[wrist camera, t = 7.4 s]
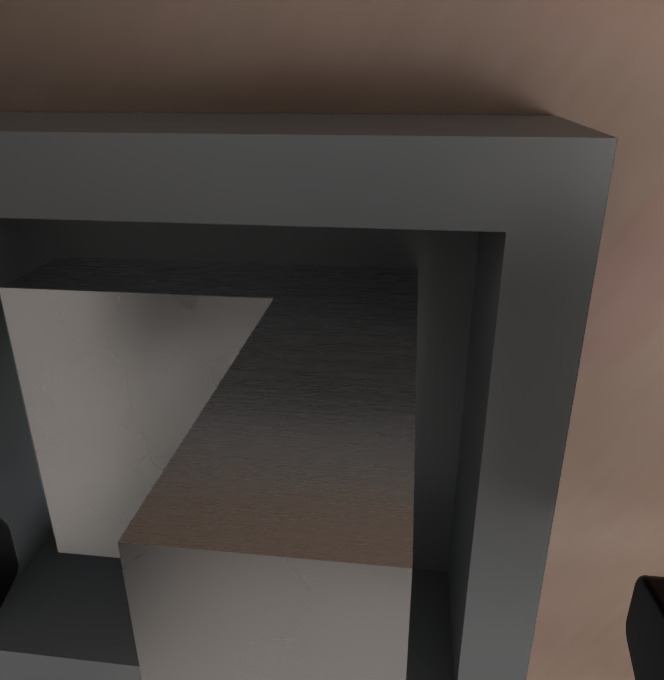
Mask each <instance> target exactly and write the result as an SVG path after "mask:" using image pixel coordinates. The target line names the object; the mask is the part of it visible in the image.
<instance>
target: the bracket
mask: <svg viewBox="0 0 664 680" xmlns="http://www.w3.org/2000/svg"><path fill="white" fill-rule="evenodd" d="M0 296H1V301H2V305H3V310H4V314H5V318H6V323H7V327H8V332H9V336H10V341H11V345H12V349H13V354H14V358H15V363H16V367H17V372H18V376H19V381H20V385H21V389H22V394H23V398H24V403H25V407H26V412H27V416H28V420H29V425H30V429H31V434H32V438H33V443H34V447H35V451H36V456H37V460H38V465H39V469H40V474H41V478H42V483H43V487H44V491H45V496H46V500H47V505H48V509H49V514H50V518H51V522H52V527H53V531H54V536H55V540H56V545H57V549H58V552H61V553H72V554H82V555H93V556H104V557H115V558H120V559H121V565H122V570H123V576H124V582H125V587H126V593H127V599H128V604H129V610H130V616H131V621H132V627H133V633H134V638H135V644H136V650H137V655H138V661H139V667H140V672H141V678H142V680H406V670H407V653H408V636H409V619H410V601H411V584H412V563H413V511H414V459H415V406H416V354H417V301H418V269H415V268H384V267H354V266H323V265H292V264H261V263H230V262H199V261H168V260H137V259H106V258H75V257H56V258H55V259H53V260H51V261H49V262H47V263H45V264H43V265H41V266H39V267H37V268H35V269H33V270H31V271H30V272H28V273H26V274H24V275H22V276H20V277H18V278H16V279H14V280H12V281H10V282H8V283H6V284H5V285H3V286H1V287H0Z"/></svg>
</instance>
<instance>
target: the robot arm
mask: <svg viewBox="0 0 664 680" xmlns="http://www.w3.org/2000/svg"><path fill="white" fill-rule="evenodd" d="M18 568H19V560H18V555H17V552H16V548H15V544H14V540H13V536H12V532H11V528H10V525H9V523H8V522H7V521H6V520H4V519H2V518H0V609H1V607H2V605H3V603H4V601H5V599H6V597H7V595H8V593H9V591H10V589H11V587H12V585H13V583H14V581H15V579H16V576H17V573H18ZM626 637H627V643H628V647H629V652H630V657H631V662H632V666H633V671H634V676H635V680H664V577H658V576H647V575H643V576H640V577H639V578H638V579H637V581H636V583H635V587H634V591H633V595H632V599H631V603H630V607H629V612H628V616H627V620H626Z"/></svg>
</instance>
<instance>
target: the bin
mask: <svg viewBox="0 0 664 680" xmlns="http://www.w3.org/2000/svg"><path fill="white" fill-rule="evenodd" d="M617 139H618V138H616V137H613V136H611V135H608V134H605V133H602V132H600V131H597V130H594V129H591V128H588V127H586V126H583V125H580V124H577V123H575V122H572V121H569V120H566V119H563V118H561V117H558V116H555V115H420V114H268V113H115V112H0V287H1V286H3V285H5V284H6V283H8V282H10V281H12V280H14V279H16V278H18V277H20V276H22V275H24V274H26V273H28V272H30V271H31V270H33V269H35V268H37V267H39V266H41V265H43V264H45V263H47V262H49V261H51V260H53V259H55V258H56V257H75V258H106V259H137V260H168V261H199V262H230V263H261V264H292V265H323V266H354V267H384V268H415V269H418V301H417V354H416V406H415V459H414V511H413V563H412V584H411V601H410V619H409V636H408V653H407V670H406V680H526V676H527V670H528V664H529V658H530V652H531V647H532V641H533V635H534V629H535V623H536V617H537V611H538V605H539V599H540V593H541V588H542V582H543V576H544V570H545V564H546V558H547V552H548V546H549V540H550V534H551V529H552V523H553V517H554V511H555V505H556V499H557V493H558V487H559V481H560V475H561V470H562V464H563V458H564V452H565V446H566V440H567V434H568V428H569V422H570V416H571V411H572V405H573V399H574V393H575V387H576V381H577V375H578V369H579V363H580V357H581V352H582V346H583V340H584V334H585V328H586V322H587V316H588V310H589V304H590V298H591V293H592V287H593V281H594V275H595V269H596V263H597V257H598V251H599V245H600V239H601V233H602V228H603V222H604V216H605V210H606V204H607V198H608V192H609V186H610V180H611V174H612V169H613V163H614V157H615V151H616V145H617ZM0 518H2V519H4V520H6V521H7V522H8V523H9V525H10V528H11V532H12V536H13V540H14V544H15V548H16V552H17V555H18V560H19V568H18V573H17V576H16V579H15V581H14V583H13V585H12V587H11V589H10V591H9V593H8V595H7V597H6V599H5V601H4V603H3V605H2V607H1V609H0V680H142V678H141V672H140V667H139V661H138V655H137V650H136V644H135V638H134V633H133V627H132V621H131V616H130V610H129V604H128V599H127V593H126V587H125V582H124V576H123V570H122V565H121V559H120V558H115V557H104V556H93V555H82V554H72V553H61V552H58V549H57V545H56V540H55V536H54V531H53V527H52V522H51V518H50V514H49V509H48V505H47V500H46V496H45V491H44V487H43V483H42V478H41V474H40V469H39V465H38V460H37V456H36V451H35V447H34V443H33V438H32V434H31V429H30V425H29V420H28V416H27V412H26V407H25V403H24V398H23V394H22V389H21V385H20V381H19V376H18V372H17V367H16V363H15V358H14V354H13V349H12V345H11V341H10V336H9V332H8V327H7V323H6V318H5V314H4V310H3V305H2V301H1V296H0Z"/></svg>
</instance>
